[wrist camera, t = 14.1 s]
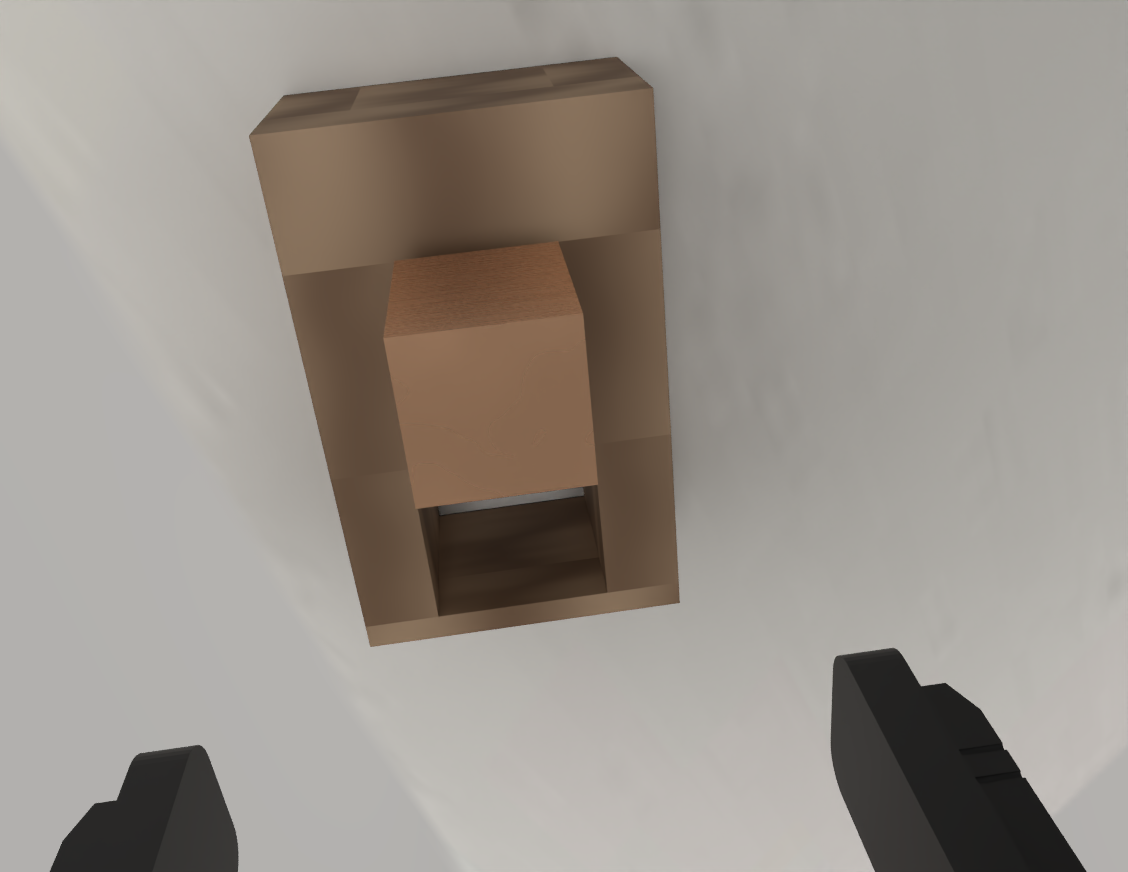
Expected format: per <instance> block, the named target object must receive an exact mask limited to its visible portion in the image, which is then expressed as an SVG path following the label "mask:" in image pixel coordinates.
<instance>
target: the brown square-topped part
mask: <svg viewBox="0 0 1128 872" xmlns="http://www.w3.org/2000/svg"><path fill="white" fill-rule="evenodd" d="M383 339H384V345H385V350H386V355H387V361H388V366H389V371H390V376H391V382H392V387H393V392H394V397H395V403H396V408H397V413H398V419H399V424H400V429H401V434H402V440H403V445H404V450H405V456H406V461H407V466H408V471H409V477H410V482H411V487H412V493H413V498H414V503H415V508H416V509H419V508H427V507H434V506H442V505H449V504H457V503H464V502H472V501H479V500H487V499H494V498H502V497H509V496H517V495H524V494H532V493H539V492H547V491H554V490H562V489H569V488H577V487H584V486H592V485H598V478H597V466H596V455H595V443H594V432H593V420H592V409H591V398H590V386H589V375H588V363H587V352H586V341H585V329H584V318H583V312H582V309H581V306H580V303H579V300H578V297H577V294H576V291H575V289H574V286H573V283H572V280H571V277H570V274H569V271H568V268H567V265H566V262H565V260H564V257H563V254H562V251H561V248H560V245H559V242H558V241H556V242H548V243H540V244H531V245H523V246H515V247H506V248H498V249H490V250H482V251H473V252H465V253H457V254H448V255H440V256H432V257H424V258H415V259H407V260H399V261H394V267H393V274H392V281H391V288H390V295H389V302H388V309H387V316H386V323H385V330H384V337H383Z"/></svg>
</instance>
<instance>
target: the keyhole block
mask: <svg viewBox="0 0 1128 872" xmlns="http://www.w3.org/2000/svg"><path fill="white" fill-rule="evenodd" d="M249 138H250V142H251V146H252V150H253V154H254V159H255V163H256V167H257V171H258V175H259V180H260V184H261V188H262V192H263V197H264V201H265V205H266V209H267V213H268V218H269V222H270V226H271V230H272V234H273V239H274V243H275V247H276V251H277V255H278V260H279V264H280V268H281V272H282V276H283V281H284V285H285V289H286V293H287V298H288V302H289V306H290V310H291V314H292V319H293V323H294V327H295V331H296V335H297V340H298V344H299V348H300V352H301V356H302V361H303V365H304V369H305V373H306V378H307V382H308V386H309V390H310V394H311V399H312V403H313V407H314V411H315V415H316V420H317V424H318V428H319V432H320V436H321V441H322V445H323V449H324V453H325V458H326V462H327V466H328V470H329V474H330V479H331V483H332V487H333V491H334V495H335V500H336V504H337V508H338V512H339V516H340V521H341V525H342V529H343V533H344V538H345V542H346V546H347V550H348V554H349V559H350V563H351V567H352V571H353V575H354V580H355V584H356V588H357V592H358V596H359V601H360V605H361V609H362V613H363V617H364V622H365V626H366V630H367V634H368V639H369V643H370V647H373V646H380V645H387V644H394V643H401V642H408V641H415V640H422V639H429V638H436V637H443V636H450V635H457V634H464V633H471V632H478V631H485V630H492V629H499V628H506V627H513V626H520V625H527V624H534V623H541V622H548V621H555V620H562V619H569V618H576V617H583V616H590V615H597V614H604V613H611V612H618V611H625V610H632V609H639V608H646V607H653V606H660V605H667V604H675V603H680V601H679V582H678V562H677V543H676V523H675V504H674V484H673V465H672V445H671V426H670V406H669V387H668V368H667V348H666V329H665V309H664V290H663V270H662V251H661V231H660V212H659V192H658V173H657V153H656V134H655V115H654V95H653V87H651V86H650V85H649V84H648V83H647V82H646V81H644V80H643V79H642V78H641V77H640V76H639V75H637V74H636V73H635V72H634V71H633V70H632V69H630V68H629V67H628V66H627V65H626V64H625V63H623V62H622V61H621V60H620V59H619V58H617V57H612V58H604V59H595V60H586V61H578V62H569V63H561V64H552V65H543V66H535V67H526V68H518V69H509V70H500V71H492V72H483V73H474V74H466V75H457V76H449V77H440V78H431V79H423V80H414V81H406V82H397V83H388V84H380V85H371V86H363V87H354V88H345V89H337V90H328V91H319V92H311V93H302V94H294V95H285V96H283V97H282V98H281V99H280V101H279V102H278V103H277V104H276V105H275V106H274V107H273V109H272V110H271V111H270V112H269V113H268V114H267V116H266V117H265V118H264V119H263V120H262V121H261V122H260V124H259V125H258V126H257V127H256V128H255V129H254V130H253V132H252V133H251V134H250V135H249ZM556 241H558V242H559V245H560V248H561V251H562V254H563V257H564V260H565V262H566V265H567V268H568V271H569V274H570V277H571V280H572V283H573V286H574V289H575V291H576V294H577V297H578V300H579V303H580V306H581V309H582V312H583V318H584V329H585V341H586V352H587V363H588V375H589V386H590V398H591V409H592V420H593V432H594V443H595V455H596V466H597V478H598V485H592V486H584V496H582V497H575V498H567V499H560V500H553V501H546V502H538V503H531V504H524V505H516V506H509V507H502V508H494V509H487V510H480V511H472V512H465V513H458V514H451V515H443V516H439V511H438V506H434V507H427V508H419V509H416V508H415V503H414V498H413V493H412V487H411V482H410V477H409V471H408V466H407V461H406V456H405V450H404V445H403V440H402V434H401V429H400V424H399V419H398V413H397V408H396V403H395V397H394V392H393V387H392V382H391V376H390V371H389V366H388V361H387V355H386V350H385V345H384V339H383V337H384V330H385V323H386V316H387V309H388V302H389V295H390V288H391V281H392V274H393V267H394V261H399V260H407V259H415V258H424V257H432V256H440V255H448V254H457V253H465V252H473V251H482V250H490V249H498V248H506V247H515V246H523V245H531V244H540V243H548V242H556Z"/></svg>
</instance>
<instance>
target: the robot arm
mask: <svg viewBox="0 0 1128 872" xmlns="http://www.w3.org/2000/svg"><path fill="white" fill-rule="evenodd" d="M831 754H832V761H833V767H834V771H835V775H836V779H837V783H838V786H839V789H840V792H841V794H842V797H843V799H844V801H845V803H846V806H847V808H848V810H849V813H850V815H851V817H852V820H853V822H854V824H855V827H856V829H857V831H858V833H859V836H860V838H861V840H862V843H863V845H864V847H865V850H866V852H867V854H868V856H869V859H870V861H871V863H872V866H873V868H874V870H875V872H1086V870H1085V869H1084V867H1083V866H1082V864H1081V863H1080V861H1079V859H1078V858H1077V856H1076V855H1075V853H1074V852H1073V850H1072V849H1071V847H1070V846H1069V844H1068V843H1067V841H1066V840H1065V838H1064V836H1063V835H1062V834H1061V832H1060V830H1059V829H1058V827H1057V826H1056V824H1055V823H1054V821H1053V820H1052V818H1051V817H1050V815H1049V814H1048V812H1047V810H1046V809H1045V807H1044V806H1043V804H1042V803H1041V801H1040V800H1039V798H1038V797H1037V795H1036V794H1035V792H1034V791H1033V789H1032V788H1031V786H1030V784H1029V783H1028V781H1027V780H1026V778H1022V776H1021V773H1020V769H1019V768H1018V766H1017V765H1016V763H1015V761H1014V760H1013V758H1012V757H1011V755H1010V754H1009V752H1008V751H1007V750H1004V748H1003V745H1002V742H1001V740H1000V739H999V737H998V735H997V734H996V732H995V731H994V729H993V728H992V726H991V725H990V723H989V722H988V720H987V719H986V717H985V716H984V714H983V712H982V711H981V710H980V709H979V708H978V707H976V706H975V705H974V704H973V703H971V702H970V701H969V700H967V699H966V698H965V697H963V696H962V695H961V694H959V693H958V692H957V691H955V690H954V689H953V688H951V687H950V686H949V685H948V684H946V683H942V684H935V685H928V686H920V684H919V683H918V681H917V679H916V678H915V676H914V674H913V672H912V671H911V669H910V667H909V666H908V664H907V662H906V661H905V659H904V657H903V656H902V654H901V653H900V652H899V651H898V650H897V649H895V648H889V649H882V650H875V651H868V652H861V653H854V654H847V655H840V656H837V657H836V658H835V660H834V665H833V687H832V717H831ZM50 872H238V843H237V836H236V832H235V828H234V825H233V822H232V819H231V817H230V814H229V811H228V808H227V806H226V803H225V800H224V797H223V795H222V792H221V789H220V786H219V784H218V781H217V779H216V776H215V773H214V770H213V767H212V765H211V762H210V759H209V757H208V754H207V752H206V750H205V749H204V748H203V747H202V746H200V745H195V746H188V747H181V748H174V749H168V750H161V751H153V752H147V753H140V754H138V755H137V756H136V757H135V758H134V759H133V761H132V762H131V765H130V767H129V770H128V772H127V775H126V778H125V780H124V783H123V785H122V788H121V790H120V793H119V796H118V798H117V800H116V801H109V802H103V803H96V804H94V805H93V806H92V807H91V808H90V810H89V811H88V812H87V813H86V815H85V816H84V817H83V818H82V819H81V820H80V821H79V823H78V824H77V825H76V826H75V827H74V828H73V830H72V831H71V832H70V833H69V834H68V835H67V837H66V838H65V839H64V840H63V842H62V844H61V846H60V849H59V851H58V853H57V856H56V858H55V861H54V863H53V865H52V868H51V870H50Z"/></svg>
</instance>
